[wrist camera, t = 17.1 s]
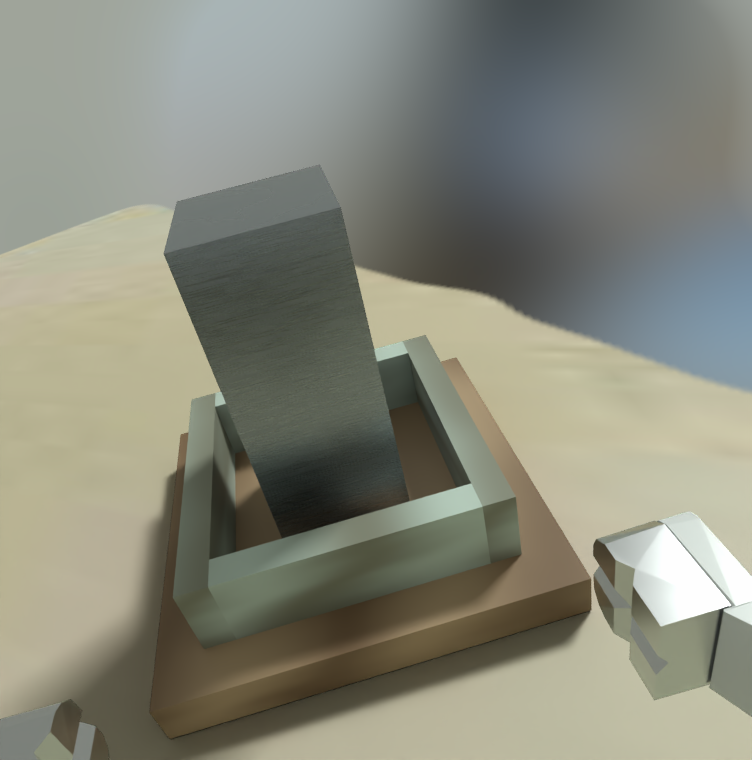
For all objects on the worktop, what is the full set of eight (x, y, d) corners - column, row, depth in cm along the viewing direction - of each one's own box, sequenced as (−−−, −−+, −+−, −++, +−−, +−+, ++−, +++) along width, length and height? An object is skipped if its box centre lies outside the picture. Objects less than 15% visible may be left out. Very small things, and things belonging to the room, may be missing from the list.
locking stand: (169, 739, 18) (110, 662, 16) (192, 459, 29) (159, 389, 27) (591, 610, 19) (590, 519, 17) (460, 383, 30) (449, 310, 27)
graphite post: (288, 554, 21) (163, 253, 15) (280, 470, 25) (177, 201, 19) (413, 517, 21) (340, 207, 15) (387, 440, 25) (319, 164, 19)
